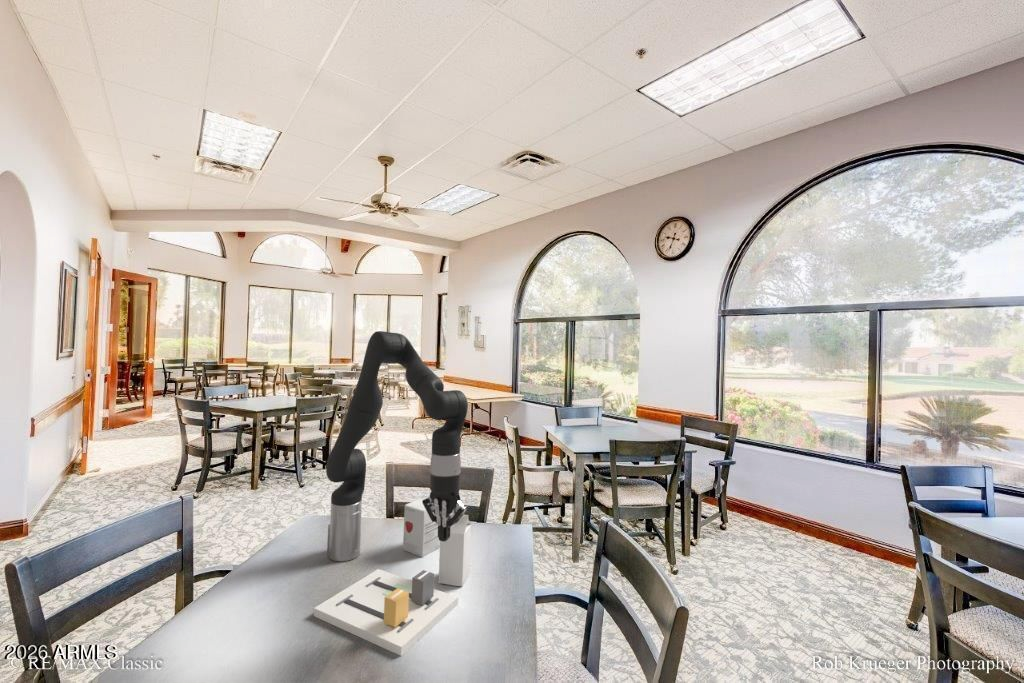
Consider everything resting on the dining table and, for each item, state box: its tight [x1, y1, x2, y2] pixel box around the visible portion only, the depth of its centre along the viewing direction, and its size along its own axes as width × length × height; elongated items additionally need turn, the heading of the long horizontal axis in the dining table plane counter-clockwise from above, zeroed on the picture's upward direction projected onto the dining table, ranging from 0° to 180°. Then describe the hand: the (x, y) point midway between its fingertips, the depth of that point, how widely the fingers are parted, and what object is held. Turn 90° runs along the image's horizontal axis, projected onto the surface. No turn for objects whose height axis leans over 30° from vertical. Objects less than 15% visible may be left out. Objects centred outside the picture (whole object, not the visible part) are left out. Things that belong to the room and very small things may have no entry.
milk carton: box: [438, 513, 472, 587], centre depth 130 cm, size 7×7×19 cm
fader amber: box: [384, 588, 409, 627], centre depth 106 cm, size 4×4×6 cm
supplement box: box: [402, 497, 440, 558], centre depth 148 cm, size 9×9×15 cm
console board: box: [313, 568, 459, 657], centre depth 114 cm, size 28×22×2 cm
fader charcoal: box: [411, 569, 435, 605], centre depth 115 cm, size 4×4×6 cm
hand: (443, 540), depth 111 cm, fingers closed
